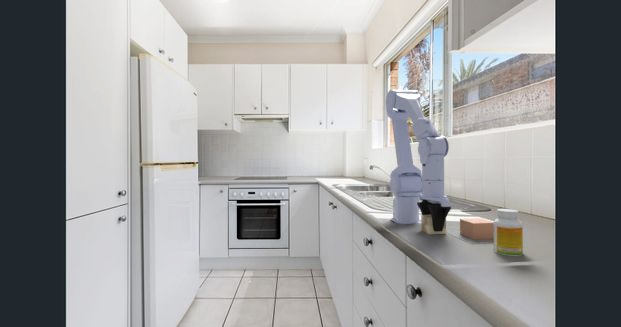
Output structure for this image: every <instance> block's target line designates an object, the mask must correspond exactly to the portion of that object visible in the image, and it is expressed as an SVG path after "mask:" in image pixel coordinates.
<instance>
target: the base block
mask: <svg viewBox="0 0 621 327" xmlns="http://www.w3.org/2000/svg"><path fill="white" fill-rule="evenodd" d="M493 224H494V221H491V220H488V219H484V218H481V217H480V218H460V219H459V230H460V234H462V235H464V236H467V237H469V238H471V239H494V227H493Z"/></svg>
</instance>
